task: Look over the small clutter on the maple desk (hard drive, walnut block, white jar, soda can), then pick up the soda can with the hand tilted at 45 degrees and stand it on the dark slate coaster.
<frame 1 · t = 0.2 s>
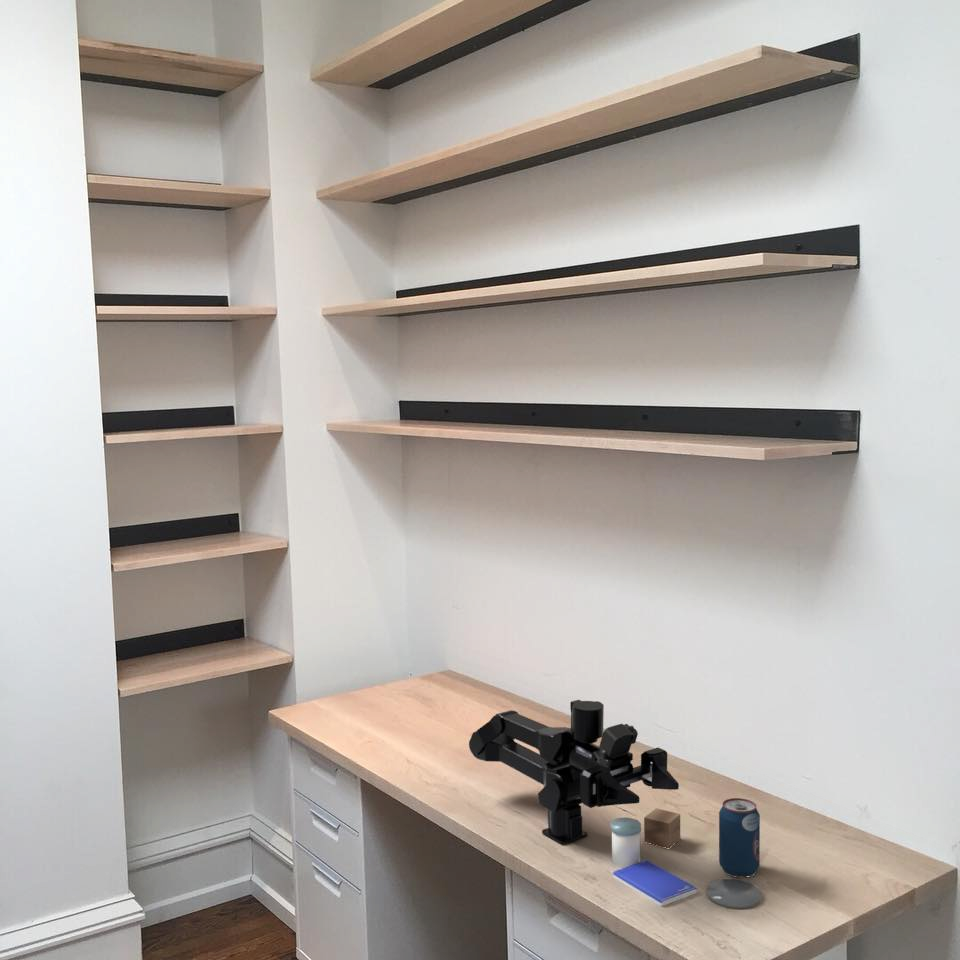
hand: (658, 793, 176), 17 cm above the table, tool horizontal, fingers open, 9 cm apart
white jar: (626, 861, 187), on the table
hard drive: (654, 888, 178), on the table
soda can: (739, 871, 183), on the table
walnut block: (662, 841, 195), on the table
coaster: (733, 895, 174), on the table
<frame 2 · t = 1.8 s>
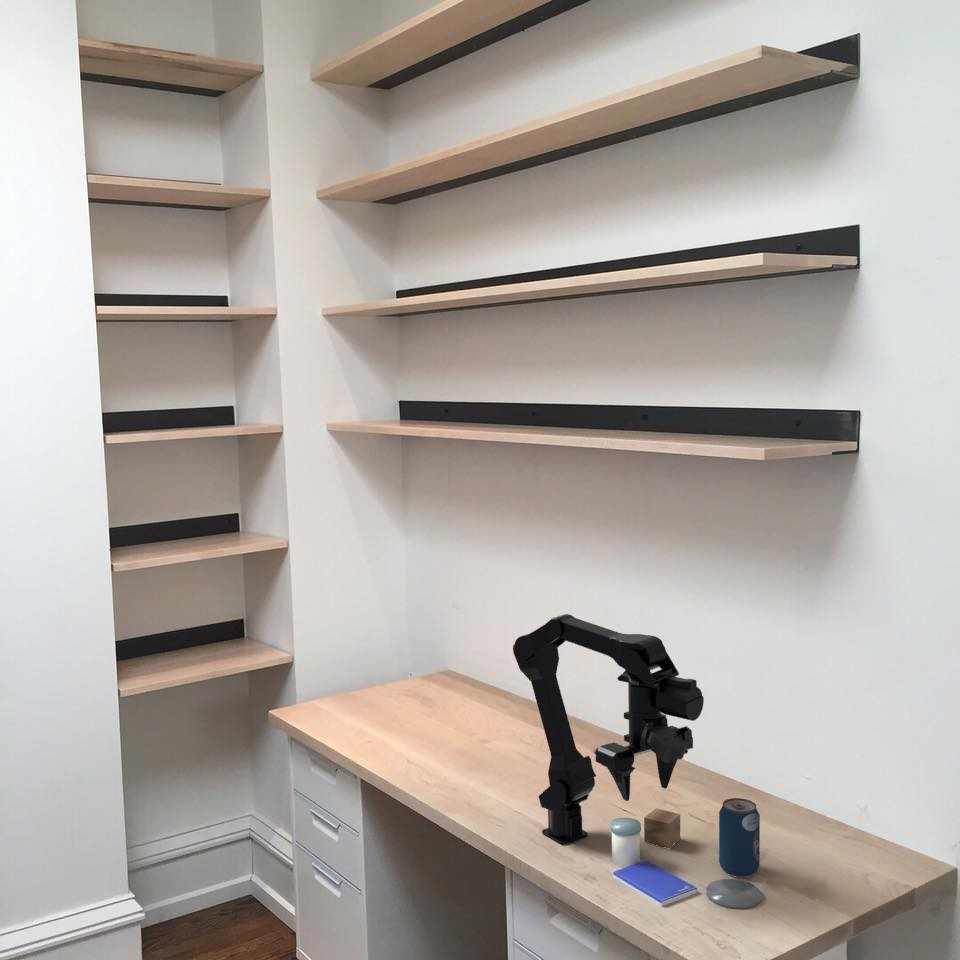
hand: (645, 793, 185), 13 cm above the table, tool pointing down, fingers open, 9 cm apart
nothing on the table moved.
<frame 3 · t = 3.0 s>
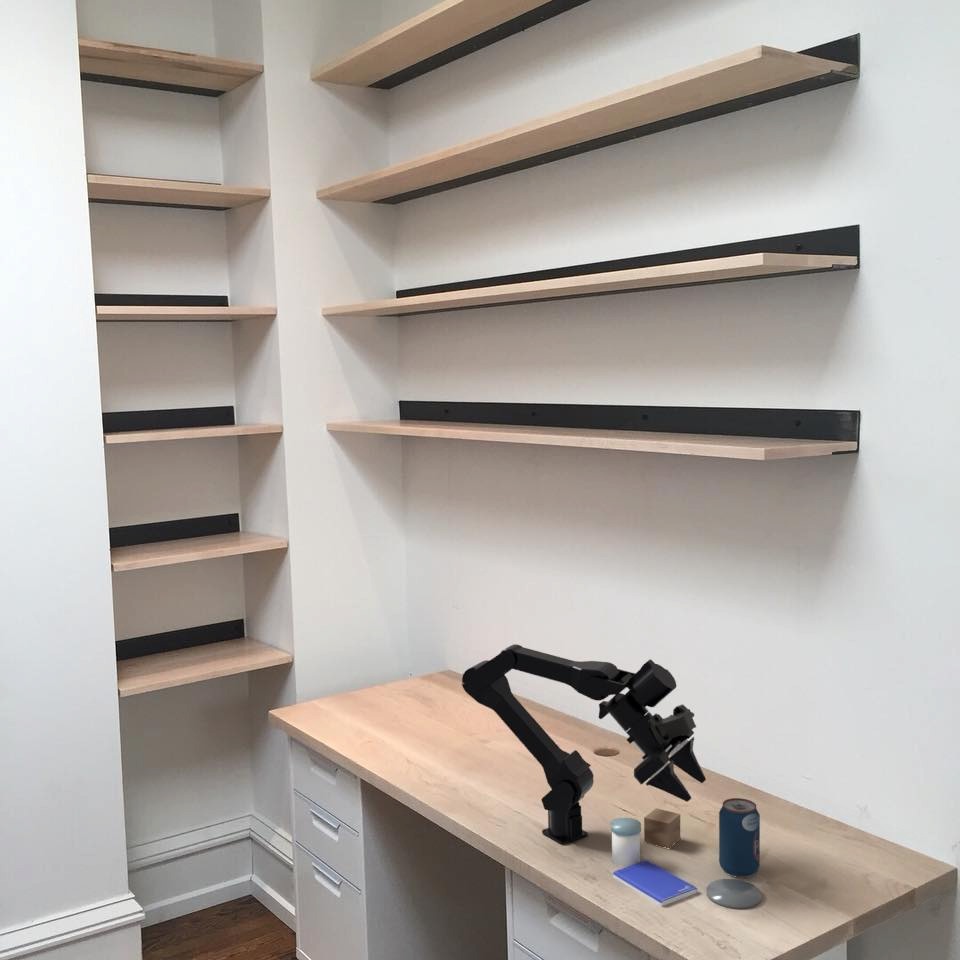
hand: (697, 790, 185), 13 cm above the table, tool tilted 45°, fingers open, 9 cm apart
nothing on the table moved.
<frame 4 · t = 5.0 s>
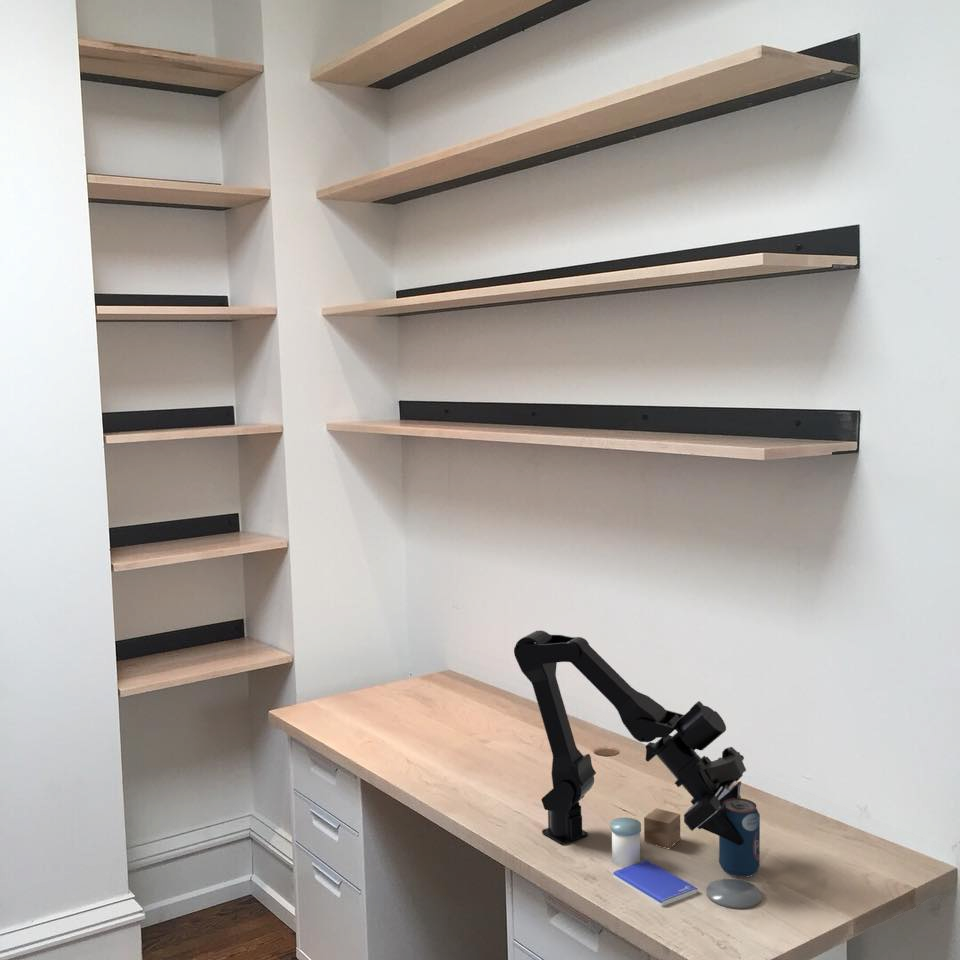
hand: (747, 835, 182), 7 cm above the table, tool tilted 45°, fingers closed on soda can, 7 cm apart
soda can: (739, 871, 183), on the table, touching gripper
everything else where it was.
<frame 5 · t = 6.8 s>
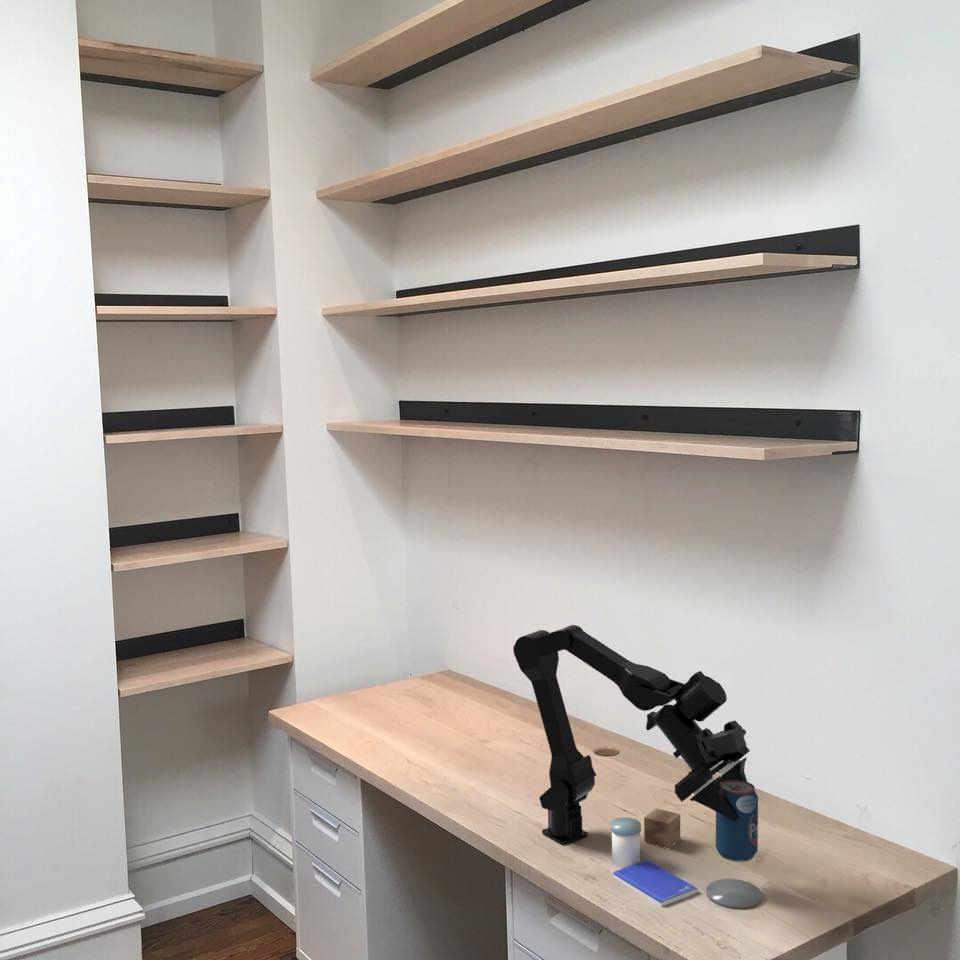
hand: (745, 812, 175), 14 cm above the table, tool tilted 45°, fingers closed on soda can, 7 cm apart
soda can: (736, 856, 176), point 6 cm above the table, touching gripper
everything else where it was.
when the fingers open (8 cm above the table, at t = 8.4 s): soda can stays where it is, resting on coaster.
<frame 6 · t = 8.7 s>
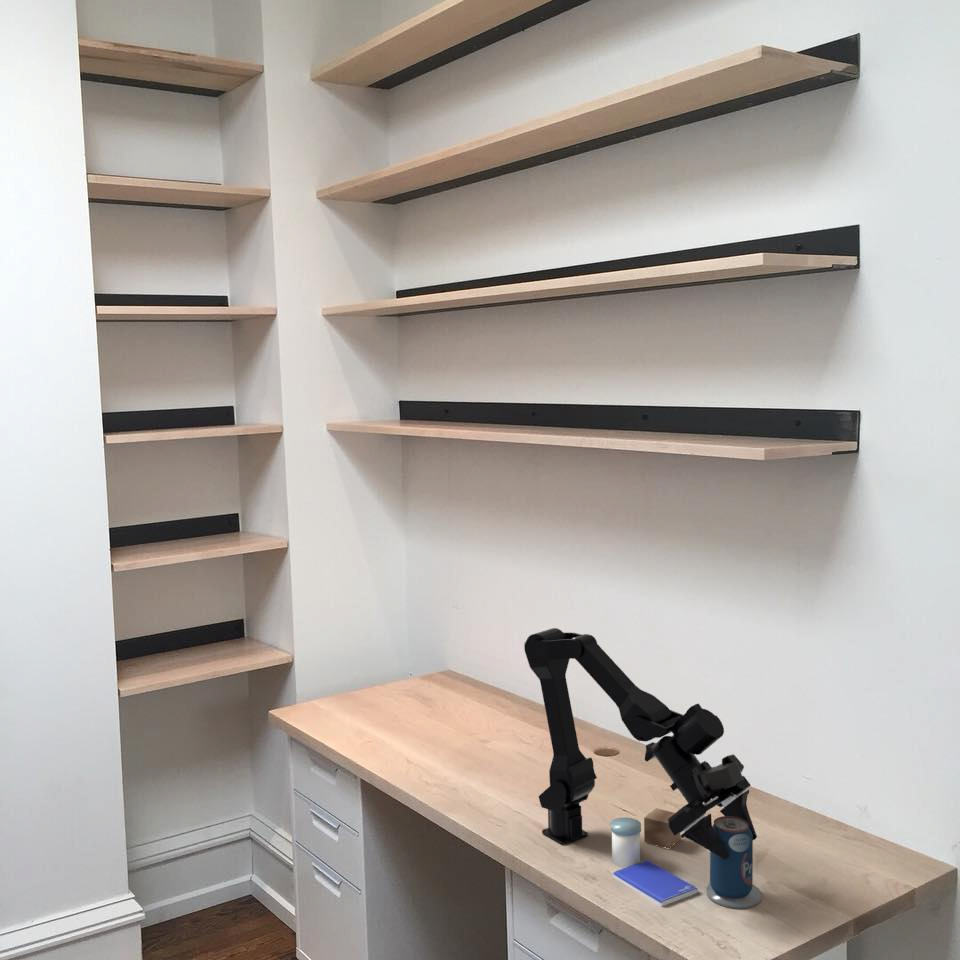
hand: (741, 848, 172), 9 cm above the table, tool tilted 45°, fingers open, 9 cm apart
soda can: (731, 893, 174), resting on coaster
everything else where it was.
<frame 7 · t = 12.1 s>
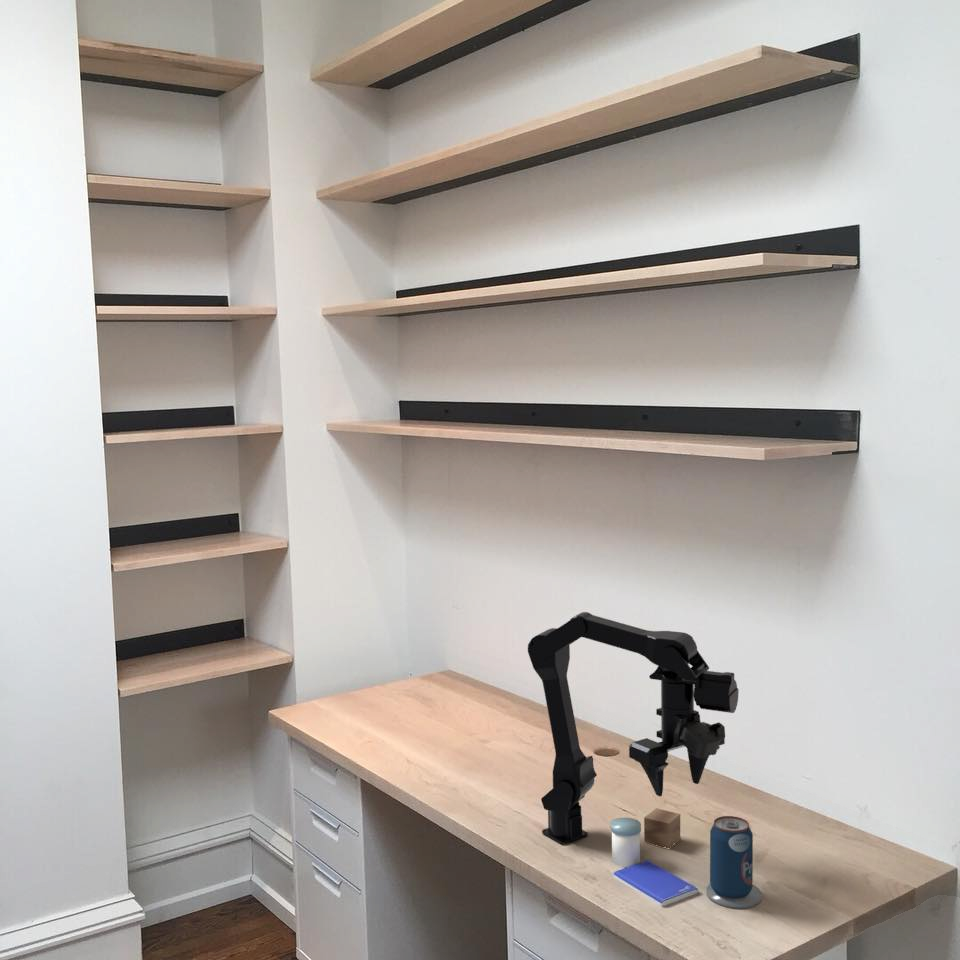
hand: (677, 789, 186), 13 cm above the table, tool pointing down, fingers open, 9 cm apart
nothing on the table moved.
at the end: soda can 0.5 cm from the coaster (horizontally); soda can tilted 0°; the gripper is holding nothing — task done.
